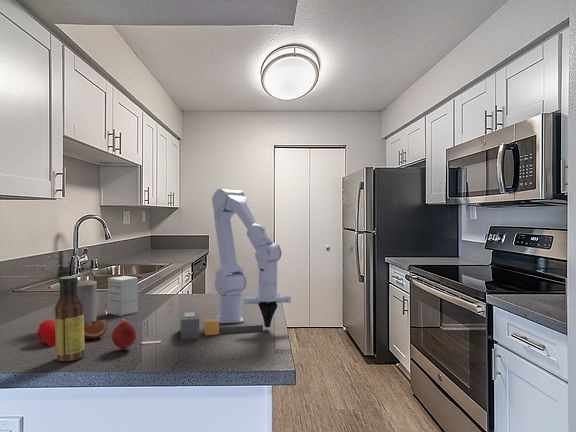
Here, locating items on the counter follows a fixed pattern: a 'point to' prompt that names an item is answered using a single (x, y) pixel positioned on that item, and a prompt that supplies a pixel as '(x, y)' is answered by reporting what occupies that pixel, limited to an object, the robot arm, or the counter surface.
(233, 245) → the robot arm
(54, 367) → the counter surface
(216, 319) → the orange and grey bar
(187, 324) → the housing
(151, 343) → the white slender bar
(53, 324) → the cap
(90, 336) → the fruit slice
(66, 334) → the sauce bottle
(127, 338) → the red rounded lump
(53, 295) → the counter surface
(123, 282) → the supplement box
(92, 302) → the pillar candle
